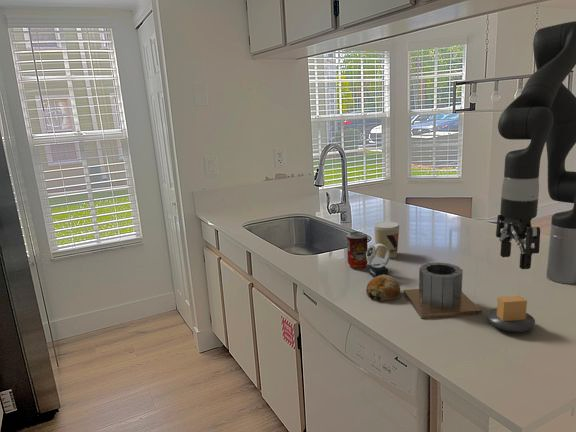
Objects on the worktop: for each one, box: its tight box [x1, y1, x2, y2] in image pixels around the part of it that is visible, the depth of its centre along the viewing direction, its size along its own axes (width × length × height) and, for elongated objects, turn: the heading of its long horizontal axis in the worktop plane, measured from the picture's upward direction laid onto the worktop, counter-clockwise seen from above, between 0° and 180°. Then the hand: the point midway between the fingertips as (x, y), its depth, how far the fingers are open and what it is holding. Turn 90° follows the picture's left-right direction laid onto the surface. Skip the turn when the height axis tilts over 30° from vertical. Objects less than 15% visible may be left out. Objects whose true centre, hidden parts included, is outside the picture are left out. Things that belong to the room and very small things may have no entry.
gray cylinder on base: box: [402, 262, 482, 320], centre depth 119 cm, size 16×16×10 cm
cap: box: [487, 295, 536, 334], centre depth 105 cm, size 10×10×8 cm
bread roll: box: [365, 274, 402, 302], centre depth 127 cm, size 10×10×8 cm
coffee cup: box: [373, 221, 400, 259], centre depth 161 cm, size 9×9×12 cm
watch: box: [366, 243, 391, 279], centre depth 141 cm, size 6×8×11 cm
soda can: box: [346, 231, 368, 270], centre depth 151 cm, size 7×7×12 cm
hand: (514, 262), depth 102 cm, fingers open, 8 cm apart
